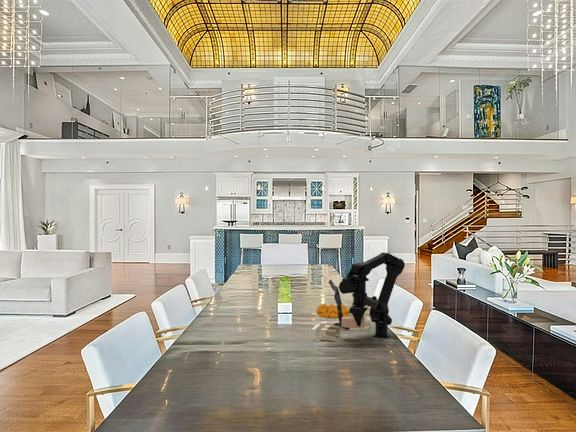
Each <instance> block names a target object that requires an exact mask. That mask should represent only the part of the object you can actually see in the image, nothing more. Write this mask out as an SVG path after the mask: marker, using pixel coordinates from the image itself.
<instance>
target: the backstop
mask: <svg viewBox="0 0 576 432" xmlns="http://www.w3.org/2000/svg"><path fill="white" fill-rule="evenodd" d="M321 326H322V324H321V323H316V325H315V326H314V327H312V328H311V341H316V340H317V339H318V338H319V337H321V329H322V327H321Z"/></svg>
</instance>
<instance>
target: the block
mask: <svg viewBox="0 0 576 432" xmlns="http://www.w3.org/2000/svg"><path fill="white" fill-rule="evenodd" d="M340 331H341V330H340V326H334V325H329V324H328V325H327V324H325V325H324V326H323V327H321V335H320V340H322V341H329V342H336V341H337V338H339V337H340V336H341V335H340V334H341V332H340Z"/></svg>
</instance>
